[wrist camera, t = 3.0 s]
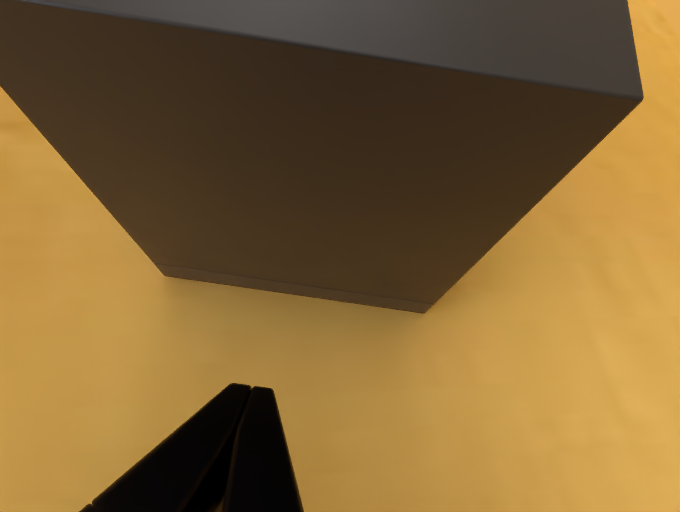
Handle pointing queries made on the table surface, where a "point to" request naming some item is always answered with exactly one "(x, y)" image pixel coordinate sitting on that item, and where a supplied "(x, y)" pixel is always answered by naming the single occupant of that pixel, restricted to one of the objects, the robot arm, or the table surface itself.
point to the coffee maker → (321, 127)
